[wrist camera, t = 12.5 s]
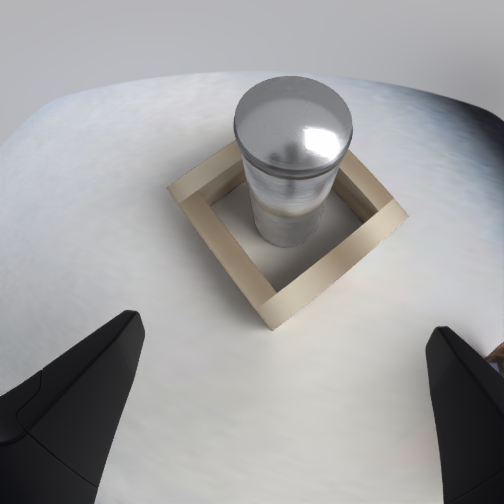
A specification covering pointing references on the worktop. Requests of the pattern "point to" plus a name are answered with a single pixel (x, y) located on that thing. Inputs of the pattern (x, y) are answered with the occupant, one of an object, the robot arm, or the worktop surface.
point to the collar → (317, 276)
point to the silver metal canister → (291, 153)
